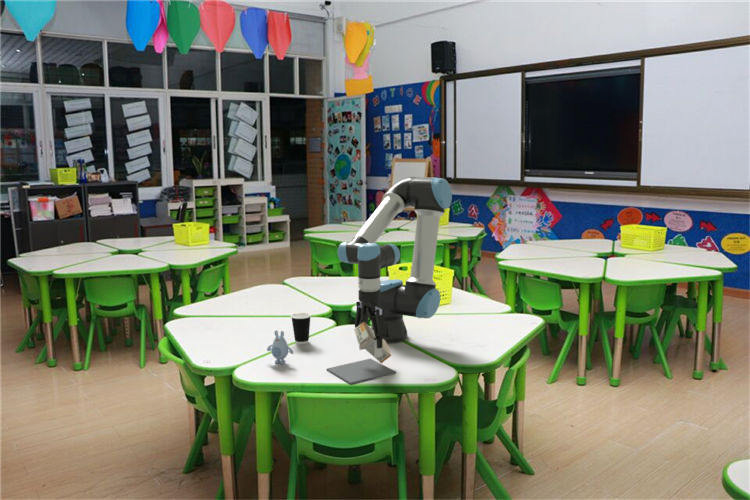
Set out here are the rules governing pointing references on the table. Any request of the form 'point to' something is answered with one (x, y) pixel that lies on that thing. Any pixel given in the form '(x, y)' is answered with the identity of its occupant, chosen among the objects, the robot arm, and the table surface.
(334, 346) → the table surface
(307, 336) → the dixie cup
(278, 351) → the toy figure
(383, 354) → the supplement box
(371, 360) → the mat
